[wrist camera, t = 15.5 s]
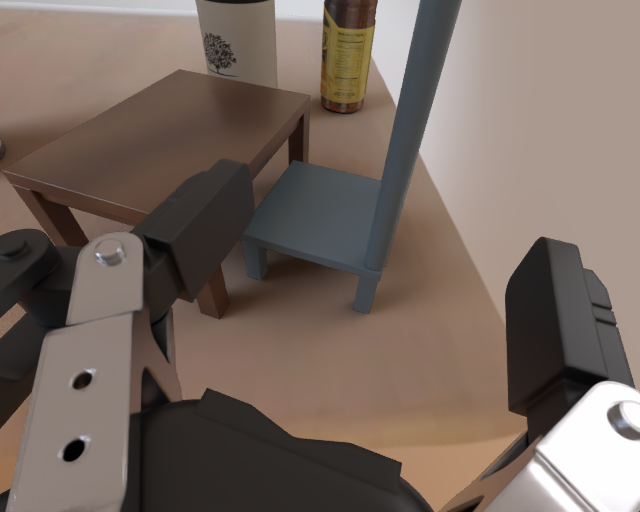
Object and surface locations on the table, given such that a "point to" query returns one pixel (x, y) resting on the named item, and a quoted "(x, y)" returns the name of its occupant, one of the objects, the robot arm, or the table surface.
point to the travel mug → (240, 40)
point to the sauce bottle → (346, 53)
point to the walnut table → (158, 154)
